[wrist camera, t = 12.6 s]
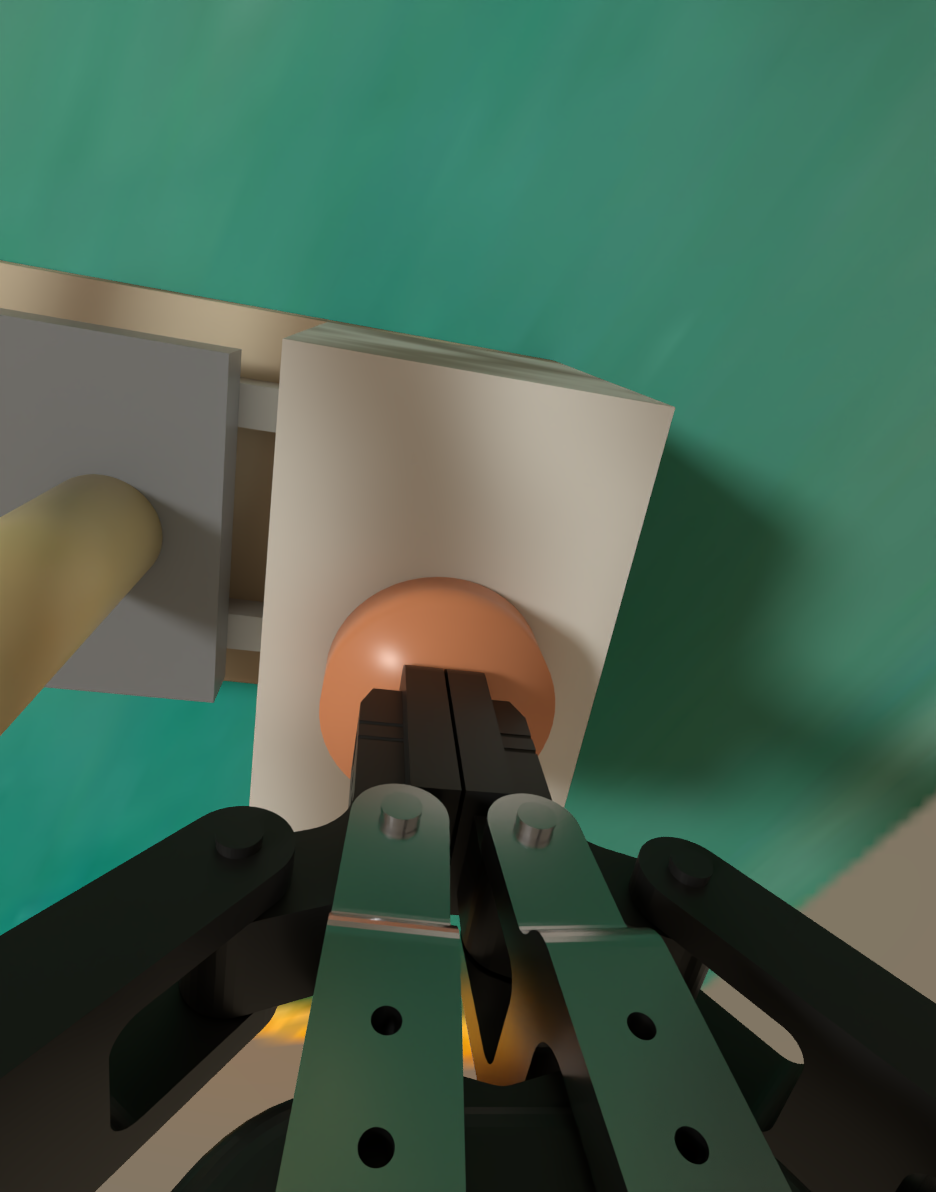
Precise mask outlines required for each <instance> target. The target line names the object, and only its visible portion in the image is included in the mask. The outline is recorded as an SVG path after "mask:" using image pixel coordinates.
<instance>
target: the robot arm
mask: <svg viewBox="0 0 936 1192" xmlns="http://www.w3.org/2000/svg"><path fill="white" fill-rule="evenodd" d="M450 915H459V918H460V927H461V931H460V935H459V930H458V927H457V926H453V925H450ZM708 969H711V970H712V971H713V972H714V973H716V974H717V975H718V976H719V977H721V978H722V979H723V980H724V981H726V982H727V983H728V984H730V985H731V986H732V987H733V988H735V989H736V990H737V991H739V992H740V993H741V994H742V995H744V996H745V997H746V998H747V999H749V1000H750V1001H751V1002H752V1003H754V1004H755V1005H756V1006H757V1007H759V1008H760V1009H761V1010H762V1011H764V1012H765V1013H766V1014H767V1015H769V1016H770V1017H771V1018H773V1019H774V1020H775V1021H776V1022H778V1023H779V1024H780V1025H781V1026H783V1027H784V1028H785V1029H786V1030H787V1031H788V1032H789V1033H790V1034H791V1035H792V1036H793V1038H794V1039H795V1040H796V1042H797V1043H798V1045H799V1047H800V1049H801V1051H802V1054H803V1058H804V1064H797V1063H793V1062H791V1061H789V1060H787V1059H785V1058H784V1057H782V1056H781V1055H780V1054H778V1053H777V1052H776V1051H775V1050H773V1049H772V1048H771V1047H770V1046H769V1045H767V1044H766V1043H765V1042H764V1041H762V1040H761V1039H760V1038H759V1037H758V1036H756V1035H755V1034H754V1033H753V1032H752V1031H750V1030H749V1029H748V1028H747V1027H745V1026H744V1025H743V1024H742V1023H741V1022H739V1021H738V1020H737V1019H736V1018H734V1017H733V1016H732V1015H731V1014H730V1013H728V1012H727V1011H726V1010H725V1009H723V1008H722V1007H721V1006H720V1005H719V1004H717V1003H716V1002H715V1001H714V1000H712V999H711V998H710V997H709V996H708V995H706V994H705V993H704V992H703V991H701V990H700V988H701V986H702V984H703V981H704V979H705V976H706V974H707V972H708ZM310 996H313V999H312V1005H311V1010H310V1015H309V1020H308V1026H307V1031H306V1036H305V1041H304V1046H303V1052H302V1057H301V1062H300V1067H299V1073H298V1078H297V1083H296V1089H295V1093H294V1098H293V1099H291V1100H288V1101H285V1102H283V1103H281V1104H278V1105H276V1106H273V1107H271V1108H269V1109H267V1110H265V1111H264V1112H262V1113H260V1114H259V1115H256V1116H255V1117H253V1118H251V1119H249V1120H248V1121H246V1122H245V1123H243V1124H242V1125H241V1126H239V1127H238V1128H236V1129H235V1130H233V1131H232V1132H231V1133H229V1134H228V1135H227V1136H225V1137H224V1138H223V1139H222V1140H221V1141H220V1142H218V1143H217V1144H216V1145H215V1146H214V1147H213V1148H212V1149H211V1150H209V1151H208V1152H207V1153H206V1154H205V1155H204V1156H203V1157H202V1158H201V1159H200V1160H199V1161H198V1162H197V1163H196V1164H195V1165H194V1166H193V1167H192V1168H191V1170H190V1171H189V1172H188V1173H187V1174H186V1175H185V1176H184V1177H183V1179H182V1180H181V1181H180V1182H179V1183H178V1184H177V1185H176V1186H175V1188H174V1189H173V1190H172V1191H171V1192H936V1003H934V1002H933V1001H931V1000H930V999H928V998H927V997H925V996H924V995H922V994H921V993H919V992H918V991H916V990H915V989H913V988H912V987H910V986H909V985H907V984H906V983H904V982H903V981H901V980H900V979H899V978H897V977H895V976H894V975H893V974H891V973H890V972H888V971H887V970H885V969H884V968H882V967H881V966H879V965H877V964H876V963H875V962H873V961H871V960H870V959H869V958H867V957H866V956H864V955H863V954H861V953H860V952H859V951H857V950H856V949H854V948H853V947H851V946H850V945H848V944H847V943H845V942H844V941H842V940H841V939H839V938H838V937H836V936H835V935H833V934H832V933H830V932H829V931H827V930H826V929H824V928H823V927H821V926H820V925H818V924H817V923H816V922H814V921H813V920H811V919H810V918H808V917H807V916H805V915H804V914H802V913H801V912H799V911H798V910H796V909H795V908H793V907H792V906H790V905H789V904H787V903H786V902H784V901H783V900H781V899H780V898H779V897H777V896H776V895H774V894H773V893H771V892H770V891H768V890H767V889H765V888H764V887H762V886H761V885H759V884H758V883H756V882H755V881H753V880H752V879H750V878H749V877H747V876H746V875H744V874H743V873H741V872H740V871H739V870H737V869H736V868H734V867H733V866H731V865H730V864H728V863H727V862H725V861H724V860H722V859H721V858H719V857H718V856H716V855H715V854H713V853H712V852H710V851H709V850H707V849H705V848H704V847H702V846H700V845H698V844H695V843H693V842H690V841H687V840H684V839H680V838H674V837H659V838H655V839H651V840H649V841H648V842H646V843H645V844H644V845H643V846H642V848H641V849H640V852H639V855H638V858H634V857H631V856H628V855H625V854H621V853H618V852H615V851H612V850H608V849H605V848H602V847H600V846H597V845H595V844H592V843H590V842H588V841H586V839H585V836H584V834H583V832H582V830H581V828H580V826H579V824H578V822H577V820H576V819H575V818H574V817H573V815H572V814H571V813H570V812H568V811H567V810H566V809H565V808H564V807H562V806H561V805H559V804H557V803H556V802H554V801H552V798H551V795H550V792H549V789H548V786H547V782H546V779H545V776H544V773H543V770H542V767H541V764H540V761H539V758H538V755H537V754H536V749H535V746H534V743H533V740H532V739H531V734H530V730H529V727H528V724H527V721H526V718H525V717H524V716H523V715H522V714H521V713H520V712H519V711H518V710H517V709H516V708H515V707H514V706H513V705H512V704H511V703H510V702H509V701H499V700H492V699H491V696H490V692H489V688H488V684H487V680H486V676H485V674H484V673H481V672H472V671H463V670H453V669H445V670H443V669H442V668H433V667H423V666H414V665H405V664H404V666H403V670H402V676H401V682H400V688H399V691H397V690H387V689H377V688H373V689H372V690H371V691H370V692H369V693H368V695H367V696H366V697H365V698H364V699H363V700H362V701H361V703H360V710H359V717H358V724H357V732H356V739H355V746H354V754H353V761H352V768H351V778H350V791H349V804H348V809H347V811H345V812H344V813H343V814H342V815H341V816H340V817H338V818H337V819H336V820H334V821H332V822H330V823H328V824H326V825H323V826H320V827H317V828H312V829H308V830H302V831H296V832H294V831H293V829H292V827H291V826H290V825H289V823H288V822H287V821H286V820H285V819H283V818H282V817H281V816H279V815H278V814H276V813H274V812H272V811H269V810H266V809H263V808H258V807H251V806H235V807H228V808H223V809H219V810H216V811H213V812H211V813H209V814H207V815H205V816H203V817H201V818H199V819H197V820H196V821H194V822H192V823H191V824H189V825H187V826H186V827H184V828H182V829H180V830H179V831H177V832H175V833H174V834H172V835H170V836H169V837H167V838H165V839H164V840H162V841H160V842H158V843H157V844H155V845H153V846H152V847H150V848H148V849H147V850H145V851H143V852H141V853H140V854H138V855H136V856H135V857H133V858H131V859H130V860H128V861H126V862H124V863H123V864H121V865H119V866H118V867H116V868H114V869H113V870H111V871H109V872H108V873H106V874H104V875H102V876H101V877H99V878H97V879H96V880H94V881H92V882H91V883H89V884H87V885H85V886H84V887H82V888H80V889H79V890H77V891H75V892H74V893H72V894H70V895H68V896H67V897H65V898H63V899H62V900H60V901H58V902H57V903H55V904H53V905H52V906H50V907H48V908H46V909H45V910H43V911H41V912H40V913H38V914H36V915H35V916H33V917H31V918H29V919H28V920H26V921H24V922H23V923H21V924H19V925H18V926H16V927H14V928H12V929H11V930H9V931H7V932H6V933H4V934H2V935H1V936H0V1192H95V1191H96V1190H97V1189H98V1188H99V1187H100V1186H101V1185H102V1184H103V1183H104V1182H105V1181H106V1180H107V1179H108V1178H109V1177H110V1176H111V1175H113V1174H114V1173H115V1171H116V1170H118V1169H119V1168H120V1167H121V1166H122V1165H123V1164H124V1163H125V1162H126V1161H127V1160H128V1159H129V1158H130V1157H131V1156H132V1155H133V1154H134V1153H135V1152H136V1151H137V1150H138V1149H139V1148H140V1147H141V1146H142V1145H143V1144H144V1143H145V1142H146V1141H148V1139H150V1138H151V1137H152V1136H153V1135H154V1134H155V1133H156V1132H157V1131H158V1130H159V1129H160V1128H161V1127H162V1126H163V1125H164V1124H165V1123H166V1122H167V1121H168V1120H169V1119H170V1118H171V1117H172V1116H173V1115H174V1114H175V1113H176V1112H177V1111H178V1110H180V1109H181V1108H182V1107H183V1105H185V1104H186V1103H187V1102H188V1101H189V1100H190V1099H191V1098H192V1097H193V1096H194V1095H195V1094H196V1093H197V1092H198V1091H199V1090H200V1089H201V1088H202V1087H203V1086H204V1085H205V1084H206V1083H207V1082H208V1081H209V1080H210V1079H211V1078H212V1077H214V1076H215V1075H216V1074H217V1072H219V1071H220V1070H221V1069H222V1068H223V1067H224V1066H225V1065H226V1064H227V1063H228V1062H229V1061H230V1060H231V1059H232V1058H233V1057H234V1056H235V1055H236V1054H237V1053H238V1052H239V1051H240V1050H241V1049H242V1048H243V1047H244V1046H245V1045H246V1044H248V1042H250V1041H251V1040H252V1039H253V1038H254V1037H255V1036H256V1035H257V1034H258V1033H259V1032H260V1031H261V1030H262V1029H263V1028H264V1027H265V1026H266V1025H267V1023H268V1022H269V1021H270V1020H271V1018H272V1017H273V1015H274V1013H275V1011H276V1008H277V1006H279V1005H282V1004H286V1003H289V1002H292V1001H296V1000H299V999H303V998H306V997H310ZM461 997H462V1002H463V1007H464V1013H465V1018H466V1024H467V1029H468V1034H469V1040H470V1045H471V1051H472V1056H473V1061H474V1067H475V1072H476V1077H477V1080H474V1079H471V1078H467V1077H464V1076H463V1049H462V1007H461Z"/></svg>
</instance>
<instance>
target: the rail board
mask: <svg viewBox="0 0 936 1192" xmlns="http://www.w3.org/2000/svg"><path fill="white" fill-rule="evenodd" d="M0 308H4V309H10V310H16V311H21V312H27V313H33V314H39V315H45V316H51V317H56V318H62V319H68V320H74V321H80V322H86V323H91V324H97V325H103V326H109V327H115V328H121V329H127V330H132V331H138V332H144V333H150V334H156V335H162V336H167V337H173V338H179V339H185V340H191V341H197V342H202V343H208V344H214V345H220V346H226V347H232V348H238V349H242V353H241V373H240V393H239V412H238V432H237V452H236V472H235V491H234V511H233V531H232V551H231V570H230V590H229V610H228V630H227V650H226V669H225V678H224V680H223V681H233V682H244V683H254V684H258V692H257V706H256V720H255V734H254V748H253V763H252V777H251V791H250V805H249V806H251V807H258V808H263V809H266V810H269V811H272V812H274V813H276V814H278V815H279V816H281V817H282V818H283V819H285V820H286V821H287V822H288V823H289V825H290V826H291V827H292V829H293V831H294V832H296V831H302V830H308V829H312V828H317V827H320V826H323V825H326V824H328V823H330V822H332V821H334V820H336V819H337V818H338V817H340V816H341V815H342V814H343V813H344V812H345V811H347V809H348V804H349V791H350V779H349V778H348V777H347V776H346V775H345V774H344V773H343V772H342V771H341V769H340V768H339V767H338V766H337V765H336V763H335V761H334V760H333V758H332V757H331V755H330V754H329V751H328V749H327V747H326V745H325V743H324V739H323V736H322V732H321V728H320V720H319V704H320V697H321V692H322V686H323V680H324V675H325V669H326V663H327V658H328V653H329V650H330V647H331V644H332V641H333V639H334V637H335V635H336V634H337V632H338V630H339V628H340V627H341V625H342V624H343V623H344V621H345V620H346V618H347V617H348V616H349V615H350V614H351V613H352V612H353V611H354V610H355V609H356V608H357V607H358V606H359V605H360V604H362V603H363V602H364V601H365V600H367V599H368V598H369V597H371V596H373V595H374V594H376V593H378V592H379V591H381V590H383V589H385V588H388V587H390V586H392V585H395V584H398V583H401V582H404V581H407V580H413V579H418V578H425V577H449V578H456V579H462V580H467V581H470V582H473V583H476V584H479V585H482V586H484V587H486V588H488V589H490V590H492V591H494V592H496V593H497V594H499V595H500V596H502V597H503V598H505V599H506V600H507V601H508V602H510V603H511V604H512V605H513V606H514V607H515V608H516V609H517V610H518V611H519V612H520V613H521V615H522V616H523V617H524V618H525V620H526V621H527V623H528V625H529V626H530V628H531V630H532V632H533V634H534V636H535V639H536V641H537V643H538V646H539V648H540V650H541V653H542V655H543V657H544V660H545V662H546V664H547V667H548V669H549V672H550V674H551V678H552V681H553V685H554V692H555V714H554V720H553V725H552V728H551V731H550V734H549V737H548V739H547V741H546V743H545V745H544V747H543V749H542V751H541V752H540V754H539V755H538V758H539V761H540V764H541V767H542V770H543V773H544V776H545V779H546V782H547V786H548V789H549V792H550V795H551V798H552V801H554V802H556V803H557V804H559V805H561V806H562V807H564V806H565V802H566V798H567V795H568V791H569V788H570V784H571V780H572V777H573V773H574V770H575V766H576V762H577V759H578V755H579V752H580V748H581V744H582V741H583V737H584V734H585V730H586V726H587V723H588V719H589V716H590V712H591V708H592V705H593V701H594V698H595V694H596V690H597V687H598V683H599V680H600V676H601V672H602V669H603V665H604V662H605V658H606V655H607V651H608V647H609V644H610V640H611V637H612V633H613V629H614V626H615V622H616V619H617V615H618V611H619V608H620V604H621V601H622V597H623V593H624V590H625V586H626V583H627V579H628V575H629V572H630V568H631V565H632V561H633V557H634V554H635V550H636V547H637V543H638V539H639V536H640V532H641V529H642V525H643V521H644V518H645V514H646V511H647V507H648V503H649V500H650V496H651V493H652V489H653V485H654V482H655V478H656V475H657V471H658V467H659V464H660V460H661V457H662V453H663V450H664V446H665V442H666V439H667V435H668V432H669V428H670V424H671V421H672V417H673V414H674V410H675V407H673V406H670V405H668V404H665V403H663V402H660V401H657V400H655V399H652V398H650V397H647V396H644V395H642V394H639V393H637V392H634V391H631V390H629V389H626V388H623V387H621V386H618V385H616V384H613V383H610V382H608V381H605V380H603V379H600V378H597V377H595V376H592V375H590V374H587V373H584V372H582V371H579V370H577V369H574V368H571V367H569V366H566V365H563V364H561V363H558V362H556V361H553V360H547V359H542V358H536V357H531V356H525V355H520V354H514V353H509V352H503V351H498V350H492V349H487V348H481V347H476V346H470V345H465V344H459V343H454V342H448V341H443V340H437V339H432V338H426V337H421V336H415V335H409V334H404V333H398V332H393V331H387V330H382V329H376V328H371V327H365V326H360V325H354V324H349V323H343V322H338V321H332V320H327V319H321V318H316V317H310V316H305V315H299V314H294V313H288V312H282V311H277V310H271V309H266V308H260V307H255V306H249V305H244V304H238V303H233V302H227V301H222V300H216V299H211V298H205V297H200V296H194V295H189V294H183V293H178V292H172V291H167V290H161V289H155V288H150V287H144V286H139V285H133V284H128V283H122V282H117V281H111V280H106V279H100V278H95V277H89V276H84V275H78V274H73V273H67V272H62V271H56V270H51V269H45V268H40V267H34V266H29V265H23V264H17V263H12V262H6V261H1V260H0Z"/></svg>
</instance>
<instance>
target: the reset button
mask: <svg viewBox="0 0 936 1192" xmlns="http://www.w3.org/2000/svg"><path fill="white" fill-rule="evenodd" d="M404 664H405V665H414V666H423V667H433V668H442V669H443V670H445V669H453V670H463V671H472V672H481V673H484V674H485V676H486V680H487V684H488V688H489V692H490V696H491V699H492V700H499V701H509V702H510V703H511V704H512V705H513V706H514V707H515V708H516V709H517V710H518V711H519V712H520V713H521V714H522V715H523V716H524V717H525V718H526V721H527V724H528V727H529V730H530V734H531V739H532V740H533V743H534V746H535V749H536V754H537V755H539V754H540V752H541V751H542V749H543V747H544V745H545V743H546V741H547V739H548V737H549V734H550V731H551V728H552V725H553V720H554V714H555V692H554V685H553V681H552V678H551V674H550V672H549V669H548V667H547V664H546V662H545V660H544V657H543V655H542V653H541V650H540V648H539V646H538V643H537V641H536V639H535V636H534V634H533V632H532V630H531V628H530V626H529V625H528V623H527V621H526V620H525V618H524V617H523V616H522V615H521V613H520V612H519V611H518V610H517V609H516V608H515V607H514V606H513V605H512V604H511V603H510V602H508V601H507V600H506V599H505V598H503V597H502V596H500V595H499V594H497V593H496V592H494V591H492V590H490V589H488V588H486V587H484V586H482V585H479V584H476V583H473V582H470V581H467V580H462V579H456V578H449V577H425V578H418V579H413V580H407V581H404V582H401V583H398V584H395V585H392V586H390V587H388V588H385V589H383V590H381V591H379V592H378V593H376V594H374V595H373V596H371V597H369V598H368V599H367V600H365V601H364V602H363V603H362V604H360V605H359V606H358V607H357V608H356V609H355V610H354V611H353V612H352V613H351V614H350V615H349V616H348V617H347V618H346V620H345V621H344V623H343V624H342V625H341V627H340V628H339V630H338V632H337V634H336V635H335V637H334V639H333V641H332V644H331V647H330V650H329V653H328V658H327V663H326V669H325V675H324V680H323V686H322V692H321V697H320V704H319V720H320V728H321V732H322V736H323V739H324V743H325V745H326V747H327V749H328V751H329V754H330V755H331V757H332V758H333V760H334V761H335V763H336V765H337V766H338V767H339V768H340V769H341V771H342V772H343V773H344V774H345V775H346V776H347V777H348V778H349V779H350V778H351V768H352V761H353V754H354V746H355V739H356V732H357V724H358V717H359V710H360V703H361V701H362V700H363V699H364V698H365V697H366V696H367V695H368V693H369V692H370V691H371V690H372V689H373V688H377V689H387V690H397V691H399V688H400V682H401V676H402V670H403V666H404Z"/></svg>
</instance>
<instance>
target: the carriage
mask: <svg viewBox="0 0 936 1192" xmlns="http://www.w3.org/2000/svg"><path fill="white" fill-rule="evenodd" d="M241 353H242V349H238V348H232V347H226V346H220V345H214V344H208V343H202V342H197V341H191V340H185V339H179V338H173V337H167V336H162V335H156V334H150V333H144V332H138V331H132V330H127V329H121V328H115V327H109V326H103V325H97V324H91V323H86V322H80V321H74V320H68V319H62V318H56V317H51V316H45V315H39V314H33V313H27V312H21V311H16V310H10V309H4V308H0V736H1V734H2V733H3V732H4V731H5V730H6V729H7V728H8V727H9V725H10V724H11V723H12V722H13V721H14V720H15V719H16V718H17V716H18V715H19V714H20V713H21V712H22V711H23V710H24V709H25V708H26V706H27V705H28V704H29V703H30V702H31V701H32V700H33V699H34V697H35V696H36V695H37V694H38V693H39V692H40V691H41V690H42V688H43V687H49V688H60V689H71V690H82V691H92V692H103V693H114V694H125V695H136V696H146V697H157V698H168V699H179V700H189V701H200V702H211V703H214V700H215V698H216V696H217V694H218V691H219V689H220V687H221V685H222V682H223V680H224V678H225V669H226V650H227V630H228V610H229V590H230V570H231V551H232V531H233V511H234V491H235V472H236V452H237V432H238V412H239V393H240V373H241Z"/></svg>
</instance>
